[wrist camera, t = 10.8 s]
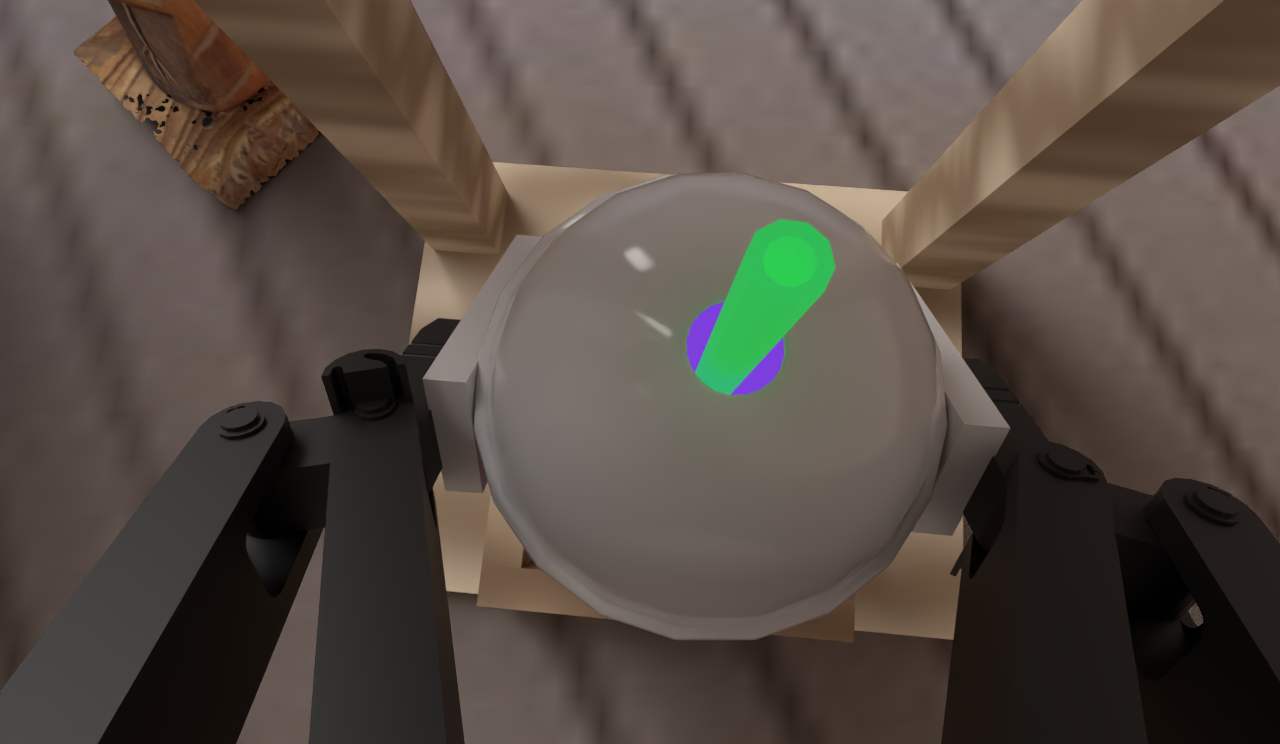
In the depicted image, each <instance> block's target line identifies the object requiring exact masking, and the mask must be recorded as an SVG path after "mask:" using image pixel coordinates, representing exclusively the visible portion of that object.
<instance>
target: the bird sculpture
mask: <svg viewBox="0 0 1280 744" xmlns="http://www.w3.org/2000/svg"><path fill="white" fill-rule="evenodd" d="M108 2H109V3H110V5H111V7H112V9H113V11H114V13H115V14H116V16H115V17H114V18H113V19H112V20H111V21H109V22H108V23H107V24H106V25H104V26H103V27H102V28H101V29H100V30H98V31H97V32H96V33H95V34H94V35H92V36H91V37H90V38H89V39H87V40H86V41H85V42H84V43H82V44H81V45H80V46H79V47H77V48H76V49H75V50H74V51H73V52H74V54H75V56H77V57H78V58H79V59H80V60H81V61H83V62H85V64H86V66H87V67H89V70H90V71H91V73H92V74H93V75H96V76H99V77H100V81H101V83H102V84H103V85H105V87H106V88H108V89H109V90H110V92H111V93H113V94H114V96H115V98H118V100H119V101H120V102H121V103H122V104H123V106H124V108H127V109H128V110H131V111H132V113H133V115H134V118H136V119H138V120H139V121H140V123H141V122H143V121H146V120H145V118H150V120H153V121H154V120H156V121H157V122H158V123H159V125H161V122H162V121H165V122H166V124H165V126H164V127H163V126H162V127H161V128H160V127H159V125H158V128H157V130H158V129H159V130H161V131H162V133H161V134H156V133H155V131H153V132H154V133H155V134H154V136H157V138H155V139H157V140H158V141H159V142H160V144H163V147H164V148H165V149H166V150H167V152H168V153H169V154H170V156H171V157H172V158H173V159H175V160H178V161H180V163H179V164H180V166H181V168H182V169H183V170H185V171H186V172H187V174H188V175H189V177H190V178H191V179H192V180H193V181H195V182H196V183H197V184H198V185H199V186H200V187H201V188H203V189H205V190H207V191H209V192H211V193H212V194H214V195H215V197H216V198H217V199H219V201H221V202H222V203H223V204H225V205H227V206H229V207H231V208H233V209H235V210H237V209H238V207H239V205H241V204H242V203H245V200H244V199H245V198H246V197H251V195H250V191H251V190H253V191H254V192H255V193H256V194H257V191H258V190H260V188H261V186H262V185H263V184H262V185H261V184H260V183H262V182H264V181H266V182H267V181H269V180H270V178H268V177H270V176H275V175H276V176H277V173H278V171H279V170H280V169H282V167H283V166H285V165H286V162H285V160H286V159H288V160H290V159H291V160H292V159H293V158H294V157H297V156H298V154H299V152H298V150H299V149H300V151H301V150H302V149H303V150H304V149H305V148H306V146H307V145H308V143H313V142H314V139H316V137H317V135H319V133H318V131H319V130H318V129H317V128H316V127H315V126H314V125H313V124H312V123H311V122H310V121H309V120H308V119H307V118H306V116H305V115H304V114H303V113H302V112H301V111H300V110H299V109H298V108H297V107H296V106H295V105H294V104H293V103H292V102H291V101H290V100H289V99H288V98H287V97H286V96H285V95H284V94H283V93H282V92H281V91H280V90H279V88H278V87H277V86H276V85H275V84H274V83H273V82H272V81H271V80H270V79H269V78H268V77H267V76H266V75H265V74H264V73H263V72H262V71H261V70H260V69H259V68H258V67H257V66H256V65H255V64H254V63H253V62H252V60H251V59H250V58H249V57H248V56H247V55H246V54H245V53H244V52H243V51H242V50H241V49H240V48H239V47H238V46H237V45H236V44H235V43H234V42H233V41H232V40H231V39H230V38H229V37H228V36H227V35H226V33H225V32H224V31H223V30H222V29H221V28H220V27H219V26H218V25H217V24H216V23H215V22H214V21H213V20H212V19H211V18H210V17H209V16H208V15H207V14H206V13H205V12H204V11H203V10H202V9H201V8H200V7H199V5H198V4H197V3H196V2H195V1H194V0H108ZM262 87H264V88H265V89H264V90H263V91H262V92H261V93H258V90H260V89H261V88H262ZM139 94H141V95H142V99H143V101H144V103H143V104H142V106H141V107H142V110H141V111H137V108H138V100H137V97H138V95H139ZM146 94H150V95H149V96H146ZM125 95H128V98H129V97H131V98H133V99H134V102H133V103H132V102H130V101H129V99H127V100H124V99H123V97H124V96H125ZM167 95H170V96H171V98H170V97H167ZM259 97H262V101H256V102H253V105H252V104H249V103H248V102H245V101H247V100H251V99H253V100H256V99H258V98H259ZM169 98H170V99H169ZM165 99H168V100H169V101H168V103H163V104H162V101H165ZM146 106H151V107H153V109H151V111H152V112H151V114H150V115H146V112H147V109H146ZM159 106H164V107H165V111H164V112H160V111H159V110H155V107H156V108H158V107H159ZM172 106H173V108H174V106H177V107H178V108H179V111H176V112H175V113H174V112H173V108H172V109H170V107H172ZM244 106H247V110H246V111H245V110H244V109H243V107H244ZM149 110H150V109H149ZM201 110H206V111H208V110H209V111H211V112H212V115H211V116H210V117H207V116H206V114H205V113H204V112H202V111H201ZM209 111H208V112H209ZM136 112H139V113H138V114H135V113H136ZM167 115H170V116H169V117H167ZM194 120H196V123H195V124H192V121H194ZM298 142H299V143H298ZM193 145H195V146H197V147H198V149H197V150H195V149H194V146H193ZM292 161H293V160H292ZM267 176H268V177H267Z"/></svg>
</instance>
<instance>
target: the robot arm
mask: <svg viewBox="0 0 1280 744" xmlns="http://www.w3.org/2000/svg"><path fill="white" fill-rule="evenodd" d="M541 238H542V236H528V235H516V237H515V238H514V240H513V241H512V243H511V244H510V246H509V247H508V249H507V250H506V252H505V253H504V255H503V256H502V258H501V260H500V261H499V263H498V264H497V266H496V267H495V269H494V270H493V272H492V273H491V275H490V276H489V278H488V279H487V281H486V282H485V284H484V286H483V287H482V289H481V290H480V292H479V293H478V295H477V296H476V298H475V299H474V301H473V302H472V304H471V305H470V307H469V308H468V310H467V311H466V313H465V315H464V316H463V318H462V319H461V320H458V319H445V318H438V319H436V320H434V321H433V322H431V323H429V324H428V325H426V326H425V327H423V328H421V329H420V331H419V332H418V333H417V335H416V336H415V337H414V339H413V340H412V341H411V345H410V344H409V345H408V347H407V348H406V349H405V351H404V352H403V355H401V356H400V355H398V354H396V353H394V352H393V351H387V350H382V349H372V350H362V351H357V352H353V353H349V354H347V355H345V356H342V357H340V358H338V359H336V360H334V361H333V362H332V363H331V364H330V365H328V366H327V367H326V368H325V370H324V372H323V374H322V376H321V377H322V380H323V383H324V386H325V389H326V392H327V395H328V398H329V401H330V404H331V408H332V411H333V414H334V415H333V416H328V417H323V418H315V419H308V420H300V421H292V422H289V421H288V418H287V416H286V413H285V412H284V410H283V408H282V407H281V406H279V405H277V404H274V403H272V402H262V401H256V402H249V403H242V404H238V405H236V406H232V407H229V408H226V409H224V410H222V411H220V412H219V413H217V414H215V415H213V416H211V417H210V418H209V419H208V420H207V421H206V422H205V423H203V424H202V425H201V426H200V427H199V429H198V430H197V431H196V433H195V434H194V435H193V437H192V438H191V439H190V441H189V442H188V443H187V445H186V446H185V447H184V449H183V450H182V451H181V453H180V454H179V455H178V457H177V458H176V459H175V461H174V462H173V463H172V464H171V466H170V467H169V468H168V470H167V471H166V472H165V474H164V475H163V476H162V478H161V479H160V480H159V482H158V483H157V484H156V486H155V487H154V488H153V490H152V491H151V492H150V494H149V495H148V496H147V498H146V499H145V500H144V502H143V503H142V504H141V506H140V507H139V508H138V509H137V511H136V512H135V513H134V515H133V516H132V517H131V519H130V520H129V521H128V523H127V524H126V525H125V527H124V528H123V529H122V531H121V532H120V533H119V535H118V536H117V537H116V539H115V540H114V541H113V543H112V544H111V545H110V547H109V548H108V549H107V551H106V552H105V553H104V554H103V556H102V557H101V558H100V560H99V561H98V562H97V564H96V565H95V566H94V568H93V569H92V570H91V572H90V573H89V574H88V576H87V577H86V578H85V580H84V581H83V582H82V584H81V585H80V586H79V588H78V589H77V590H76V592H75V593H74V594H73V596H72V597H71V598H70V600H69V601H68V602H67V603H66V605H65V606H64V607H63V609H62V610H61V611H60V613H59V614H58V615H57V617H56V618H55V619H54V621H53V622H52V623H51V625H50V626H49V627H48V629H47V630H46V631H45V633H44V634H43V635H42V637H41V638H40V639H39V641H38V642H37V643H36V645H35V646H34V647H33V648H32V650H31V651H30V652H29V654H28V655H27V656H26V658H25V659H24V660H23V662H22V663H21V664H20V666H19V667H18V668H17V670H16V671H15V672H14V674H13V675H12V676H11V678H10V679H9V680H8V682H7V683H6V684H5V686H4V687H3V688H2V690H1V691H0V744H236V742H237V740H238V738H239V735H240V733H241V730H242V728H243V725H244V723H245V720H246V718H247V715H248V713H249V710H250V708H251V705H252V703H253V701H254V698H255V696H256V693H257V691H258V688H259V686H260V683H261V681H262V678H263V676H264V673H265V671H266V668H267V666H268V663H269V661H270V659H271V656H272V654H273V651H274V649H275V646H276V644H277V641H278V639H279V636H280V634H281V631H282V629H283V626H284V624H285V622H286V619H287V617H288V614H289V612H290V609H291V607H292V604H293V602H294V599H295V597H296V594H297V592H298V589H299V587H300V585H301V582H302V580H303V577H304V575H305V572H306V570H307V567H308V565H309V562H310V560H311V557H312V555H313V552H314V550H315V548H316V545H317V543H318V540H319V538H320V535H321V533H322V530H323V528H324V527H325V538H324V551H323V564H322V577H321V590H320V604H319V617H318V630H317V643H316V656H315V669H314V682H313V696H312V709H311V722H310V735H309V744H465V743H464V735H463V726H462V718H461V709H460V701H459V693H458V684H457V676H456V667H455V659H454V651H453V642H452V634H451V626H450V617H449V609H448V600H447V592H446V584H445V575H444V567H443V558H442V550H441V542H440V533H439V525H438V516H437V508H436V500H435V496H434V491H433V486H434V484H435V482H436V480H437V478H438V476H439V474H440V472H442V477H443V482H444V487H445V490H447V491H459V492H470V493H481V494H483V492H484V490H485V487H486V485H487V482H488V481H487V478H486V474H485V470H484V467H483V463H482V460H481V456H480V452H479V449H478V445H477V442H476V438H475V434H474V431H473V426H474V399H475V387H476V375H477V363H478V360H477V353H478V351H479V348H480V345H481V343H482V340H483V337H484V335H485V332H486V329H487V327H488V324H489V321H490V319H491V316H492V313H493V311H494V308H495V305H496V303H497V300H498V297H499V295H500V292H501V290H502V289H503V287H504V286H505V285H506V283H507V282H508V281H509V280H510V278H511V277H512V276H513V274H514V273H515V272H516V271H517V269H518V268H519V267H520V265H521V264H522V263H523V261H524V260H525V259H526V258H527V256H528V255H529V254H530V252H531V251H532V250H533V249H534V247H535V246H536V245H537V243H538V242H539V241H540V239H541ZM896 264H897V265H898V263H896ZM898 266H899V265H898ZM899 267H900V266H899ZM902 271H903V270H902ZM910 283H911V282H910ZM911 285H912V284H911ZM912 287H913V289H914V292H915V294H916V296H917V299H918V301H919V303H920V306H921V308H922V310H923V312H924V315H925V317H926V319H927V322H928V324H929V326H930V329H931V331H932V333H933V335H934V338H935V340H936V342H937V345H938V347H939V349H940V353H941V362H942V371H943V381H944V390H945V400H946V409H947V419H948V428H947V433H946V437H945V441H944V446H943V450H942V454H941V459H940V463H939V467H938V472H937V476H936V480H935V485H934V489H933V493H932V498H931V500H930V502H929V503H928V505H927V507H926V508H925V510H924V512H923V513H922V515H921V516H920V518H919V520H918V521H917V523H916V525H915V526H914V528H913V529H912V532H914V533H925V534H936V535H947V536H952V535H953V534H954V532H955V530H956V528H957V526H958V524H959V522H960V521H961V519H962V517H963V515H965V518H966V520H967V522H968V524H969V526H970V528H971V530H972V532H973V533H972V534H971V536H970V538H969V540H968V541H967V543H966V545H965V547H964V548H963V550H962V552H961V554H960V555H959V557H958V559H957V561H956V562H955V564H954V566H953V568H952V570H951V572H950V575H953V576H955V577H956V575H957V574H958V572H959V570H960V569H962V570H961V578H960V587H959V596H958V604H957V613H956V622H955V630H954V639H953V647H952V656H951V665H950V673H949V682H948V691H947V699H946V708H945V716H944V725H943V734H942V742H941V744H1280V544H1279V542H1278V541H1277V540H1276V538H1275V537H1274V536H1273V535H1272V533H1271V532H1270V531H1269V529H1268V528H1267V527H1266V526H1265V524H1264V523H1263V522H1262V520H1261V519H1260V518H1259V517H1258V516H1257V515H1256V514H1255V513H1254V512H1253V511H1252V510H1251V509H1250V508H1249V507H1248V506H1247V505H1246V504H1244V503H1242V502H1241V501H1239V500H1238V499H1236V498H1235V497H1233V496H1232V495H1231V494H1230V493H1228V492H1226V491H1224V490H1222V489H1218V487H1215V486H1213V485H1210V484H1206V483H1202V482H1199V481H1195V480H1192V479H1182V478H1174V479H1170V480H1167V481H1165V482H1164V483H1163V484H1162V485H1161V487H1160V488H1159V489H1158V490H1157V492H1156V493H1155V494H1154V495H1153V496H1152V495H1148V494H1145V493H1141V492H1138V491H1134V490H1131V489H1127V488H1124V487H1120V486H1117V485H1113V484H1110V483H1107V480H1106V478H1105V476H1104V474H1103V472H1102V470H1101V469H1100V468H1099V467H1098V466H1097V465H1096V464H1095V463H1094V462H1093V461H1092V460H1090V459H1089V458H1087V457H1086V456H1084V455H1082V454H1081V453H1079V452H1078V451H1076V450H1073V449H1071V448H1068V447H1066V446H1064V445H1061V444H1057V443H1053V442H1049V441H1048V439H1047V438H1046V437H1045V435H1044V434H1043V433H1042V431H1041V430H1040V429H1039V427H1038V426H1037V425H1036V423H1035V422H1034V421H1033V419H1032V418H1031V417H1030V415H1029V414H1028V413H1027V411H1026V410H1025V409H1024V407H1023V406H1022V405H1020V404H1019V401H1018V399H1017V398H1016V397H1015V395H1014V394H1013V393H1012V392H1010V389H1009V387H1008V386H1007V385H1006V383H1005V382H1004V380H1003V379H1002V378H1001V376H1000V375H999V374H998V373H997V372H995V371H994V370H993V369H991V368H990V367H988V366H987V365H986V364H984V363H983V362H982V361H980V360H978V359H966V358H962V357H961V355H960V354H959V352H958V351H957V349H956V348H955V346H954V345H953V343H952V342H951V341H950V339H949V338H948V336H947V335H946V333H945V332H944V330H943V329H942V327H941V326H940V324H939V323H938V322H937V320H936V319H935V317H934V316H933V314H932V313H931V311H930V310H929V308H928V307H927V305H926V304H925V303H924V301H923V300H922V298H921V297H920V295H919V294H918V292H917V291H916V289H915V288H914V286H913V285H912ZM1195 603H1197V605H1198V607H1199V609H1200V611H1201V614H1202V616H1203V622H1204V623H1203V624H1201V625H1200V626H1198V627H1197V625H1196V624H1195V623H1194V622H1193V620H1192V618H1191V616H1190V614H1189V612H1188V610H1189V609H1190V608H1191V607H1192V606H1193V605H1194V604H1195Z"/></svg>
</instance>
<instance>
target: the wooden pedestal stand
mask: <svg viewBox="0 0 1280 744" xmlns="http://www.w3.org/2000/svg"><path fill="white" fill-rule="evenodd" d="M194 1H195V2H196V3H197V4H198V5H199V7H200V8H201V9H202V10H203V11H204V12H205V13H206V14H207V15H208V16H209V17H210V18H211V19H212V20H213V21H214V22H215V23H216V24H217V25H218V26H219V27H220V28H221V29H222V30H223V31H224V32H225V33H226V35H227V36H228V37H229V38H230V39H231V40H232V41H233V42H234V43H235V44H236V45H237V46H238V47H239V48H240V49H241V50H242V51H243V52H244V53H245V54H246V55H247V56H248V57H249V58H250V59H251V60H252V62H253V63H254V64H255V65H256V66H257V67H258V68H259V69H260V70H261V71H262V72H263V73H264V74H265V75H266V76H267V77H268V78H269V79H270V80H271V81H272V82H273V83H274V84H275V85H276V86H277V87H278V88H279V90H280V91H281V92H282V93H283V94H284V95H285V96H286V97H287V98H288V99H289V100H290V101H291V102H292V103H293V104H294V105H295V106H296V107H297V108H298V109H299V110H300V111H301V112H302V113H303V114H304V115H305V116H306V118H307V119H308V120H309V121H310V122H311V123H312V124H313V125H314V126H315V127H316V128H317V129H318V130H319V131H320V132H321V133H322V134H323V135H324V136H325V137H326V138H327V139H328V140H329V141H330V142H331V143H332V145H333V146H334V147H335V148H336V149H337V150H338V151H339V152H340V153H341V154H342V155H343V156H344V157H345V158H346V159H347V160H348V161H349V162H350V163H351V164H352V165H353V166H354V167H355V168H356V169H357V170H358V171H359V173H360V174H361V175H362V176H363V177H364V178H365V179H366V180H367V181H368V182H369V183H370V184H371V185H372V186H373V187H374V188H375V189H376V190H377V191H378V192H379V193H380V194H381V195H382V196H383V197H384V198H385V199H386V201H387V202H388V203H389V204H390V205H391V206H392V207H393V208H394V209H395V210H396V211H397V212H398V213H399V214H400V215H401V216H402V217H403V218H404V219H405V220H406V221H407V222H408V223H409V224H410V225H411V226H412V227H413V229H414V230H415V231H416V232H417V233H418V234H419V235H420V236H421V237H422V238H423V239H424V240H425V244H424V251H423V257H422V263H421V270H420V276H419V282H418V288H417V295H416V301H415V307H414V314H413V320H412V326H411V332H410V339H409V344H410V345H411V341H412V340H413V339H414V337H415V336H416V335H417V333H418V332H419V331H420V329H421V328H423V327H425V326H426V325H428V324H429V323H431V322H433V321H434V320H436V319H438V318H445V319H458V320H461V319H462V318H463V316H464V315H465V313H466V311H467V310H468V308H469V307H470V305H471V304H472V302H473V301H474V299H475V298H476V296H477V295H478V293H479V292H480V290H481V289H482V287H483V286H484V284H485V282H486V281H487V279H488V278H489V276H490V275H491V273H492V272H493V270H494V269H495V267H496V266H497V264H498V263H499V261H500V260H501V258H502V256H503V255H504V253H505V252H506V250H507V249H508V247H509V246H510V244H511V243H512V241H513V240H514V238H515V237H516V235H528V236H542V237H543V236H544V235H545V234H546V233H548V232H549V231H551V230H552V229H554V228H555V227H556V226H558V225H559V224H561V223H562V222H564V221H565V220H567V219H568V218H570V217H571V216H572V215H574V214H575V213H577V212H578V211H580V210H581V209H583V208H584V207H585V206H587V205H588V204H590V203H591V202H593V201H594V200H596V199H597V198H599V197H600V196H602V195H605V194H608V193H611V192H614V191H618V190H621V189H624V188H627V187H630V186H633V185H636V184H639V183H642V182H645V181H648V180H651V179H654V178H657V177H661V176H664V175H666V174H652V173H638V172H624V171H610V170H596V169H582V168H568V167H554V166H540V165H526V164H512V163H498V162H492V160H491V158H490V156H489V154H488V152H487V150H486V148H485V146H484V144H483V142H482V140H481V138H480V137H479V135H478V133H477V131H476V129H475V127H474V125H473V123H472V121H471V119H470V117H469V115H468V113H467V111H466V109H465V107H464V105H463V103H462V101H461V99H460V97H459V95H458V93H457V91H456V89H455V87H454V85H453V83H452V81H451V79H450V77H449V75H448V73H447V71H446V69H445V67H444V65H443V64H442V62H441V60H440V58H439V56H438V54H437V52H436V50H435V48H434V46H433V44H432V42H431V40H430V38H429V36H428V34H427V32H426V30H425V28H424V26H423V24H422V22H421V20H420V18H419V16H418V14H417V12H416V10H415V8H414V6H413V4H412V2H411V0H194ZM1278 86H1280V0H1082V1H1081V2H1080V4H1079V5H1078V6H1077V7H1076V8H1075V9H1074V10H1073V11H1072V12H1071V13H1070V15H1069V16H1068V17H1067V18H1066V19H1065V20H1064V21H1063V22H1062V23H1061V24H1060V26H1059V27H1058V28H1057V29H1056V30H1055V31H1054V32H1053V33H1052V34H1051V35H1050V37H1049V38H1048V39H1047V40H1046V41H1045V42H1044V43H1043V44H1042V45H1041V46H1040V48H1039V49H1038V50H1037V51H1036V52H1035V53H1034V54H1033V55H1032V56H1031V57H1030V59H1029V60H1028V61H1027V62H1026V63H1025V64H1024V65H1023V66H1022V67H1021V68H1020V70H1019V71H1018V72H1017V73H1016V74H1015V75H1014V76H1013V77H1012V78H1011V79H1010V81H1009V82H1008V83H1007V84H1006V85H1005V86H1004V87H1003V88H1002V89H1001V90H1000V92H999V93H998V94H997V95H996V96H995V97H994V98H993V99H992V100H991V101H990V103H989V104H988V105H987V106H986V107H985V108H984V109H983V110H982V111H981V112H980V114H979V115H978V116H977V117H976V118H975V119H974V120H973V121H972V122H971V123H970V125H969V126H968V127H967V128H966V129H965V130H964V131H963V132H962V133H961V134H960V136H959V137H958V138H957V139H956V140H955V141H954V142H953V143H952V144H951V145H950V147H949V148H948V149H947V150H946V151H945V152H944V153H943V154H942V155H941V156H940V158H939V159H938V160H937V161H936V162H935V163H934V164H933V165H932V166H931V167H930V169H929V170H928V171H927V172H926V173H925V174H924V175H923V176H922V177H921V178H920V180H919V181H918V182H917V183H916V184H915V185H914V186H913V187H912V188H911V189H910V191H909V192H904V191H890V190H876V189H862V188H848V187H834V186H820V185H806V184H792V183H783V184H786V185H790V186H794V187H797V188H801V189H805V190H807V191H809V192H811V193H812V194H814V195H815V196H817V197H819V198H820V199H822V200H823V201H825V202H826V203H828V204H830V205H831V206H833V207H834V208H836V209H838V210H839V211H841V212H842V213H844V214H845V215H847V216H849V217H850V218H852V219H853V220H855V221H857V222H858V223H860V224H861V225H863V226H864V227H865V228H866V230H867V231H868V232H869V233H870V234H871V235H872V236H873V237H874V239H875V240H876V241H877V242H878V243H879V244H880V245H881V247H882V248H883V249H884V250H885V251H886V252H887V253H888V255H889V256H890V257H891V258H892V259H893V260H894V261H895V263H898V265H899V266H900V268H901V269H902V270H903V272H904V273H905V274H906V275H907V276H908V278H909V281H910V282H911V284H912V285H913V286H914V288H915V289H916V291H917V292H918V294H919V295H920V297H921V298H922V300H923V301H924V303H925V304H926V305H927V307H928V308H929V310H930V311H931V313H932V314H933V316H934V317H935V319H936V320H937V322H938V323H939V324H940V326H941V327H942V329H943V330H944V332H945V333H946V335H947V336H948V338H949V339H950V341H951V342H952V343H953V345H954V346H955V348H956V349H957V351H958V352H959V354H960V355H961V357H962V316H961V283H962V282H963V281H965V280H967V279H968V278H970V277H971V276H973V275H975V274H976V273H978V272H979V271H981V270H983V269H984V268H986V267H988V266H989V265H991V264H992V263H994V262H996V261H997V260H999V259H1000V258H1002V257H1004V256H1005V255H1007V254H1009V253H1010V252H1012V251H1013V250H1015V249H1017V248H1018V247H1020V246H1021V245H1023V244H1025V243H1026V242H1028V241H1030V240H1031V239H1033V238H1034V237H1036V236H1038V235H1039V234H1041V233H1042V232H1044V231H1046V230H1047V229H1049V228H1051V227H1052V226H1054V225H1055V224H1057V223H1059V222H1060V221H1062V220H1063V219H1065V218H1067V217H1068V216H1070V215H1072V214H1073V213H1075V212H1076V211H1078V210H1080V209H1081V208H1083V207H1084V206H1086V205H1088V204H1089V203H1091V202H1092V201H1094V200H1096V199H1097V198H1099V197H1101V196H1102V195H1104V194H1105V193H1107V192H1109V191H1110V190H1112V189H1113V188H1115V187H1117V186H1118V185H1120V184H1122V183H1123V182H1125V181H1126V180H1128V179H1130V178H1131V177H1133V176H1134V175H1136V174H1138V173H1139V172H1141V171H1143V170H1144V169H1146V168H1147V167H1149V166H1151V165H1152V164H1154V163H1155V162H1157V161H1159V160H1160V159H1162V158H1164V157H1165V156H1167V155H1168V154H1170V153H1172V152H1173V151H1175V150H1176V149H1178V148H1180V147H1181V146H1183V145H1185V144H1186V143H1188V142H1189V141H1191V140H1193V139H1194V138H1196V137H1197V136H1199V135H1201V134H1202V133H1204V132H1206V131H1207V130H1209V129H1210V128H1212V127H1214V126H1215V125H1217V124H1218V123H1220V122H1222V121H1223V120H1225V119H1227V118H1228V117H1230V116H1231V115H1233V114H1235V113H1236V112H1238V111H1239V110H1241V109H1243V108H1244V107H1246V106H1248V105H1249V104H1251V103H1252V102H1254V101H1256V100H1257V99H1259V98H1260V97H1262V96H1264V95H1265V94H1267V93H1269V92H1270V91H1272V90H1273V89H1275V88H1277V87H1278ZM433 491H434V496H435V500H436V508H437V516H438V525H439V533H440V542H441V550H442V558H443V567H444V575H445V584H446V591H452V592H462V593H472V594H478V598H477V606H480V607H490V608H501V609H511V610H521V611H532V612H542V613H552V614H563V615H573V616H583V617H594V618H604V619H611V618H608V617H605V616H602V615H599V614H598V613H596V612H595V611H594V610H593V609H591V608H590V607H589V606H587V605H586V604H585V603H584V602H582V601H581V600H580V599H578V598H577V597H576V596H574V595H573V594H572V593H571V592H569V591H568V590H567V589H565V588H564V587H563V586H562V585H560V584H559V583H558V582H556V581H555V580H554V579H553V578H551V577H550V576H549V575H547V574H546V573H545V572H543V571H542V570H541V569H540V568H538V567H537V566H536V564H535V563H534V561H533V560H532V559H531V557H530V556H529V554H528V553H527V551H526V550H525V548H524V547H523V545H522V544H521V542H520V541H519V539H518V538H517V536H516V535H515V534H514V532H513V531H512V529H511V528H510V526H509V525H508V523H507V522H506V520H505V519H504V517H503V516H502V514H501V513H500V512H499V510H498V509H497V507H496V506H495V504H494V503H493V499H492V496H491V492H490V488H489V485H488V482H487V485H486V487H485V490H484V492H483V494H481V493H470V492H459V491H447V490H445V487H444V482H443V477H442V472H440V474H439V476H438V478H437V480H436V482H435V484H434V486H433ZM962 550H963V517H962V519H961V521H960V522H959V524H958V526H957V528H956V530H955V532H954V534H953V535H952V536H947V535H936V534H925V533H914V532H912V531H911V533H910V534H909V536H908V538H907V539H906V541H905V543H904V544H903V546H902V547H901V549H900V551H899V552H898V554H897V556H896V557H895V559H894V560H893V562H892V564H891V565H890V566H889V567H887V568H886V569H885V570H884V571H882V572H881V573H880V574H879V575H877V576H876V577H875V578H874V579H872V580H871V581H870V582H869V583H867V584H866V585H865V586H864V587H862V588H861V589H860V590H859V591H857V592H856V593H855V594H854V595H852V596H851V597H850V598H849V599H847V600H846V601H845V602H843V603H842V604H841V605H840V606H838V607H837V608H836V609H835V610H833V611H832V612H831V613H830V614H827V615H824V616H821V617H818V618H816V619H813V620H810V621H807V622H804V623H802V624H799V625H796V626H793V627H791V628H788V629H785V630H782V631H779V632H777V633H774V634H771V635H779V636H789V637H800V638H810V639H820V640H831V641H841V642H851V643H854V630H857V631H867V632H877V633H888V634H898V635H908V636H919V637H929V638H940V639H950V640H953V639H954V630H955V622H956V613H957V604H958V596H959V587H960V578H961V570H962V569H960V570H959V572H958V574H957V575H956V577H955V576H953V575H950V572H951V570H952V568H953V566H954V564H955V562H956V561H957V559H958V557H959V555H960V554H961V552H962Z"/></svg>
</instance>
